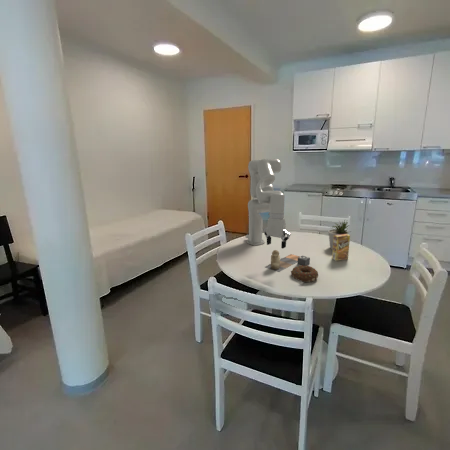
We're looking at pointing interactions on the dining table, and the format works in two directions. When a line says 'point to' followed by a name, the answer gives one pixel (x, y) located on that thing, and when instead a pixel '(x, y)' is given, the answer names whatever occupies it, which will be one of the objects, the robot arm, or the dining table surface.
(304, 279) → the donut
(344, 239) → the candy box
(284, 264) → the board
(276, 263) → the pawn
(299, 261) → the die
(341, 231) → the potted plant
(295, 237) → the dining table surface
